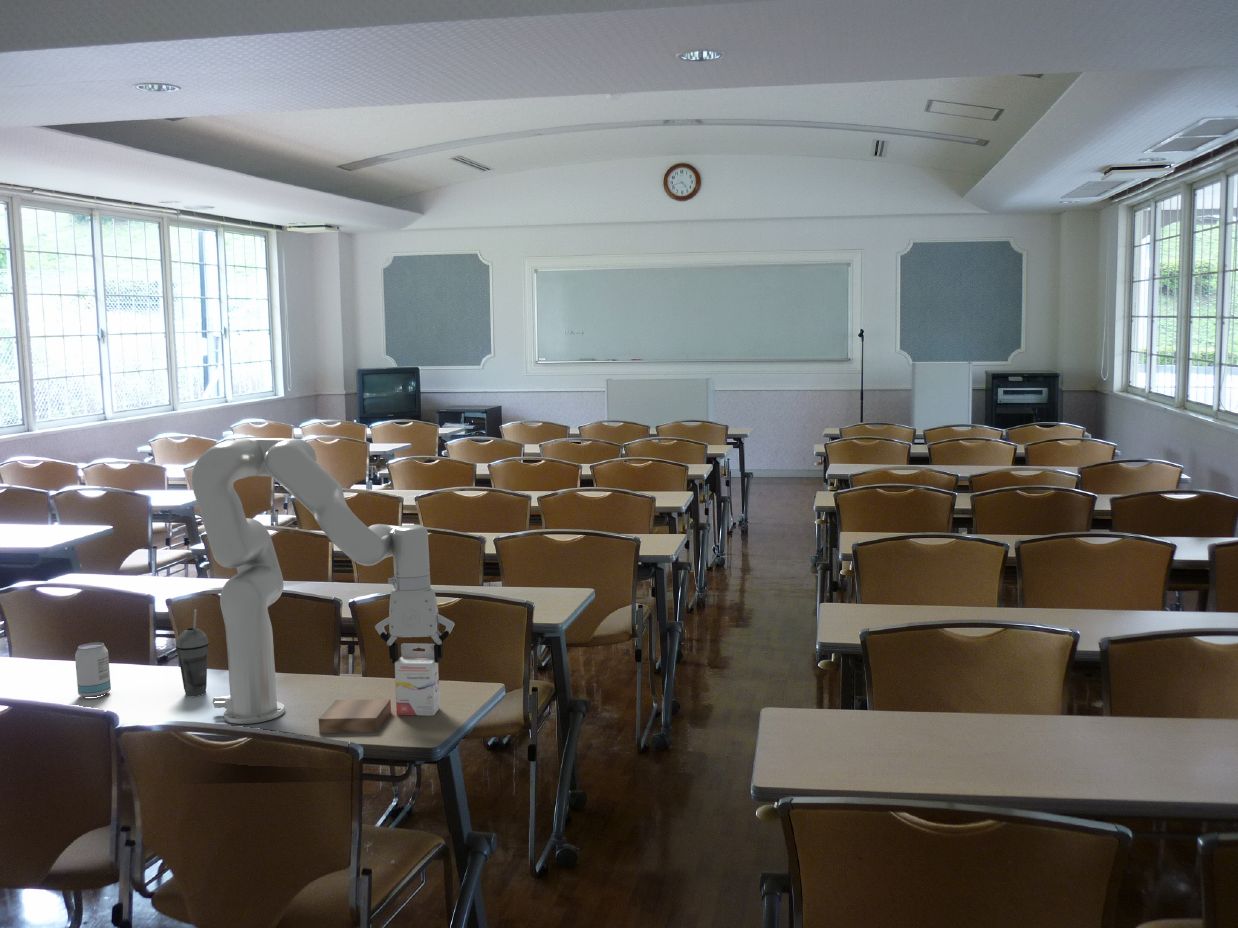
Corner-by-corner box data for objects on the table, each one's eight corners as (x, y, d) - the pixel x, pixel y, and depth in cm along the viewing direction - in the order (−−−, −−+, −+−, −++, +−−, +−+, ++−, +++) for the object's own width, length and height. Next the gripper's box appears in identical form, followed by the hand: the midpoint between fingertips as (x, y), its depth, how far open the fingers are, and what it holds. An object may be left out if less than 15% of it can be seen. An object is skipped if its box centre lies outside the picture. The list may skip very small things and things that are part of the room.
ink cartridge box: (395, 715, 227) (392, 649, 226) (402, 708, 232) (399, 642, 231) (434, 715, 226) (431, 648, 225) (440, 708, 231) (437, 642, 230)
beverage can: (85, 691, 251) (81, 642, 250) (115, 690, 251) (111, 640, 250) (73, 700, 244) (69, 650, 243) (104, 699, 245) (100, 648, 243)
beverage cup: (178, 691, 249) (172, 608, 247) (211, 686, 252) (205, 604, 250) (179, 700, 242) (173, 614, 240) (213, 695, 245) (207, 610, 243)
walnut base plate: (319, 732, 218) (318, 718, 218) (336, 713, 230) (335, 699, 230) (377, 731, 218) (376, 717, 217) (391, 712, 229) (390, 698, 229)
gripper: (367, 587, 223) (372, 667, 225) (449, 585, 222) (453, 665, 224) (376, 580, 230) (381, 657, 232) (455, 578, 230) (459, 655, 232)
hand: (416, 661), depth 228 cm, fingers closed on ink cartridge box, 8 cm apart
